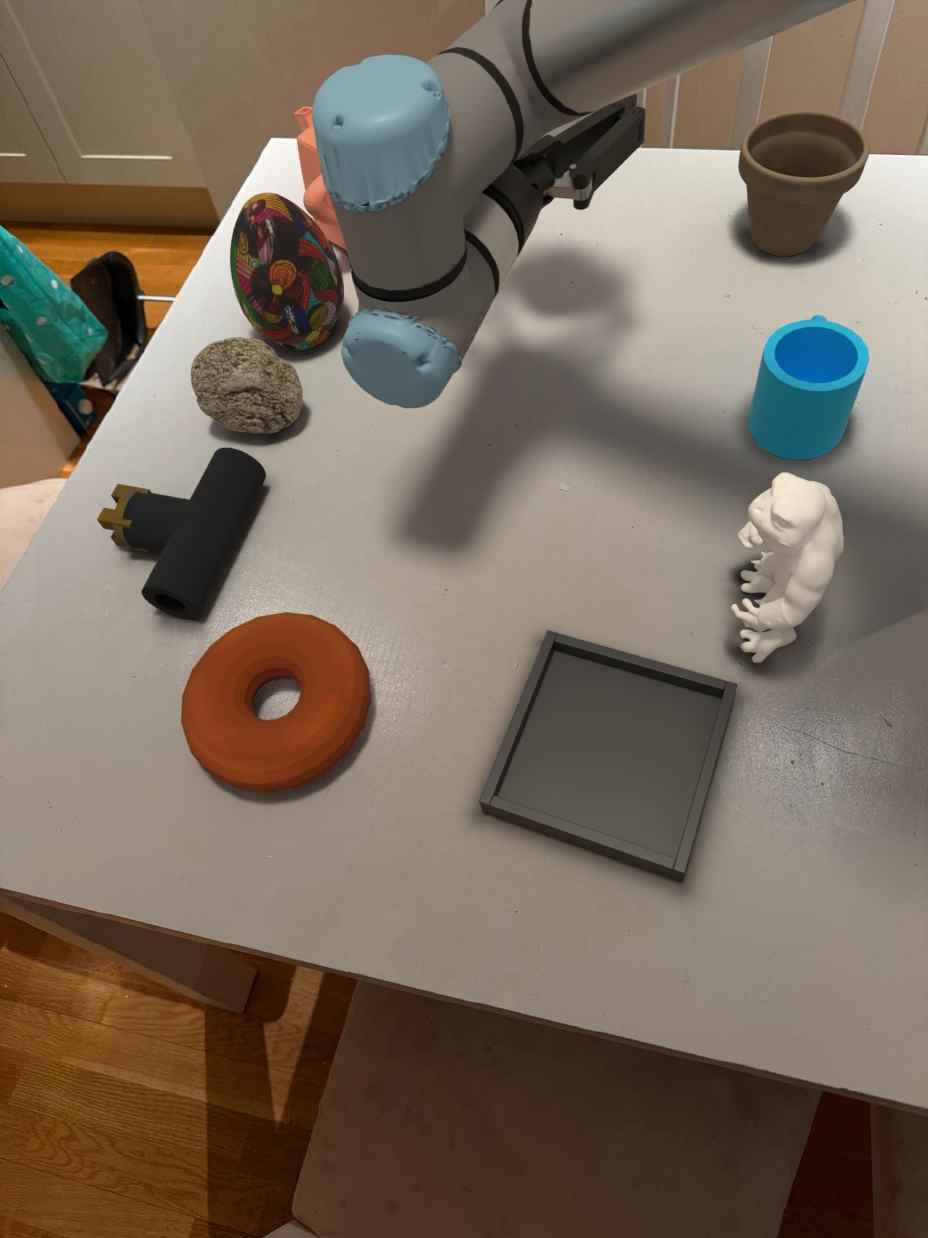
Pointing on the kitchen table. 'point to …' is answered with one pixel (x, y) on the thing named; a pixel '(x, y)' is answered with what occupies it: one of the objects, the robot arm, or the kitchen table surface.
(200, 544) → the pipe connector
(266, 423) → the stone
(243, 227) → the egg
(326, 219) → the teapot
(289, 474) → the kitchen table surface
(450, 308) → the robot arm
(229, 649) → the donut
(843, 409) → the mug
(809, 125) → the flower pot
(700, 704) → the tray
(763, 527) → the figurine
